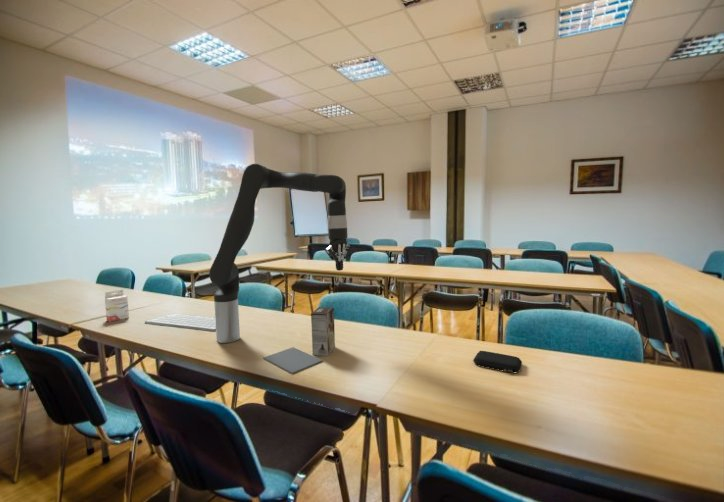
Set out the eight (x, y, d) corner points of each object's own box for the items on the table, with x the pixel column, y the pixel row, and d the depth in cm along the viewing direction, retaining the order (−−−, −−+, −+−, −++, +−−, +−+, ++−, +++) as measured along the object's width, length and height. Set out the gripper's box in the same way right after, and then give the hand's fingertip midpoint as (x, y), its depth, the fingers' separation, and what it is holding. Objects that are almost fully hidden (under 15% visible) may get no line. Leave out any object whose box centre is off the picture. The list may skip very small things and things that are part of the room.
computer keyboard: (240, 321, 171) (240, 318, 170) (212, 333, 153) (212, 330, 153) (176, 313, 185) (176, 310, 185) (144, 324, 168) (143, 321, 168)
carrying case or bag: (471, 367, 115) (519, 377, 107) (471, 359, 114) (519, 368, 107) (478, 356, 124) (522, 364, 116) (478, 348, 124) (522, 356, 116)
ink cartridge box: (110, 322, 170) (107, 293, 169) (106, 320, 173) (103, 292, 172) (129, 317, 177) (127, 290, 176) (125, 316, 180) (123, 289, 179)
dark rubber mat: (263, 358, 124) (263, 357, 124) (293, 348, 133) (293, 347, 133) (292, 374, 111) (292, 372, 111) (322, 361, 121) (322, 360, 121)
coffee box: (319, 345, 135) (318, 306, 134) (335, 346, 134) (334, 307, 132) (312, 355, 126) (310, 313, 125) (328, 356, 125) (327, 313, 123)
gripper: (343, 226, 142) (345, 267, 144) (318, 228, 133) (320, 271, 134) (356, 226, 137) (357, 268, 139) (331, 228, 127) (333, 273, 129)
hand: (339, 270), depth 136 cm, fingers closed
